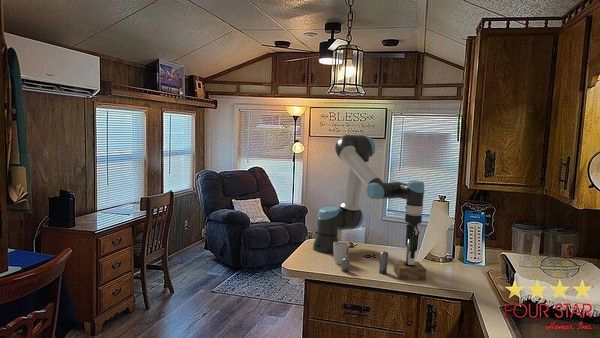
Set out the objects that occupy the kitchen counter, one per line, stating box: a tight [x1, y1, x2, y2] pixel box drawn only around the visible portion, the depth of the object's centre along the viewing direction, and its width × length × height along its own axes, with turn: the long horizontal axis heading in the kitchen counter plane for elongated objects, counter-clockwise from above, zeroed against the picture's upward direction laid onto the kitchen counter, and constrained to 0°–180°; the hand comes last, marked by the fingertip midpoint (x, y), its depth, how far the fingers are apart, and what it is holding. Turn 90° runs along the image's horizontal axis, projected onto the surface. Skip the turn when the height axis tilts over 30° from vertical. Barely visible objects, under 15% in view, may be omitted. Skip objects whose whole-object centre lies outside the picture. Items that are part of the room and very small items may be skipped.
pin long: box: [405, 239, 414, 267], centre depth 203 cm, size 4×4×15 cm
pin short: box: [340, 257, 351, 273], centre depth 205 cm, size 4×4×6 cm
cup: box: [333, 241, 350, 266], centre depth 217 cm, size 8×8×10 cm
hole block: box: [392, 260, 427, 281], centre depth 204 cm, size 12×12×5 cm
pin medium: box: [378, 251, 389, 275], centre depth 206 cm, size 4×4×10 cm
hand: (409, 262), depth 204 cm, fingers closed on pin long, 4 cm apart
